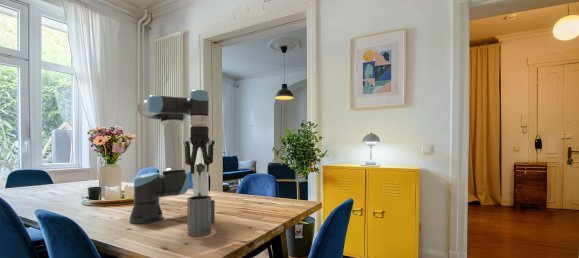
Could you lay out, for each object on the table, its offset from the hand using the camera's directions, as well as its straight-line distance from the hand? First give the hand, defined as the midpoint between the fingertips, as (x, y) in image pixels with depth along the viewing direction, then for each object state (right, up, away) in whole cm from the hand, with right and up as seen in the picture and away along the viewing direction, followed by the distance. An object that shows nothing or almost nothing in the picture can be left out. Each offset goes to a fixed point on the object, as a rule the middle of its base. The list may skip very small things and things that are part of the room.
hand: (199, 180), depth 121 cm
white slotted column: (-5, -24, +17) cm, 30 cm away
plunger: (0, -12, -1) cm, 12 cm away
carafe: (0, -22, -1) cm, 22 cm away
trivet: (0, -23, -1) cm, 23 cm away
